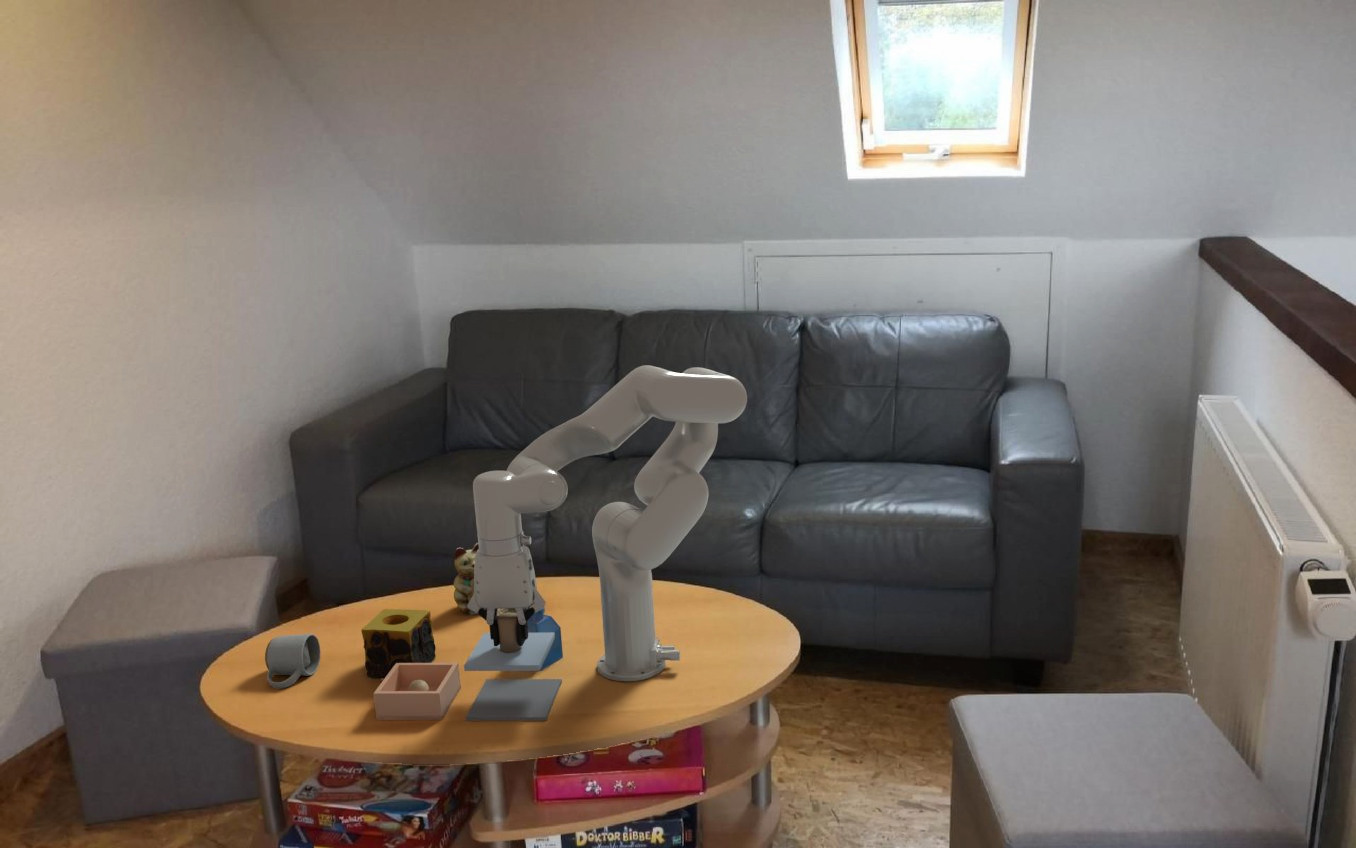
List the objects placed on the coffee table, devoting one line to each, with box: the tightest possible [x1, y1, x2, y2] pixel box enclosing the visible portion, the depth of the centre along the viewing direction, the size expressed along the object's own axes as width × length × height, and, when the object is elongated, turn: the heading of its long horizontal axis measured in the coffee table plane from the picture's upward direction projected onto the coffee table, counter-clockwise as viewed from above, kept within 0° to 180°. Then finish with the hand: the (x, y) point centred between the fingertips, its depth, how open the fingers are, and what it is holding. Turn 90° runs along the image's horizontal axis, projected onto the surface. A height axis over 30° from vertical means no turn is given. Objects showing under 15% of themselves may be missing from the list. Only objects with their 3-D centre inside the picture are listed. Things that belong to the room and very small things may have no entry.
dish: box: [373, 662, 462, 721], centre depth 198 cm, size 12×12×5 cm
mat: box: [465, 678, 563, 722], centre depth 198 cm, size 14×14×1 cm
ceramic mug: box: [264, 633, 321, 689], centre depth 211 cm, size 11×8×8 cm
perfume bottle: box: [527, 600, 564, 671], centre depth 212 cm, size 6×6×12 cm
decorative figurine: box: [453, 542, 479, 616], centre depth 238 cm, size 10×8×15 cm
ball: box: [408, 680, 429, 691], centre depth 198 cm, size 4×4×4 cm
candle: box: [361, 608, 437, 680], centre depth 212 cm, size 10×10×10 cm
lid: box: [463, 612, 555, 672], centre depth 195 cm, size 13×13×7 cm
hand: (510, 642), depth 195 cm, fingers closed on lid, 3 cm apart
